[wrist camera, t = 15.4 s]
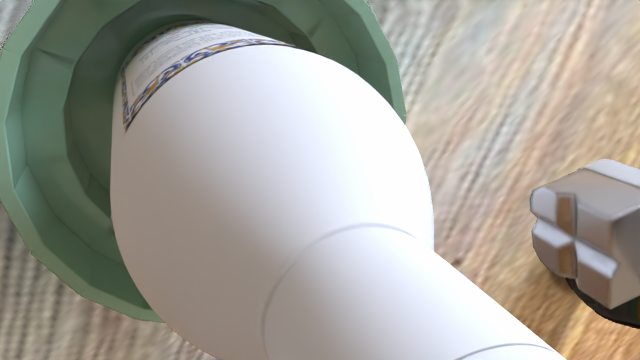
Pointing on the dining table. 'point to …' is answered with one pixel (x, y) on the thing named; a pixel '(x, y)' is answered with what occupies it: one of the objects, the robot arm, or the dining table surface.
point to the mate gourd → (629, 313)
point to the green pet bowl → (97, 112)
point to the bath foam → (284, 209)
